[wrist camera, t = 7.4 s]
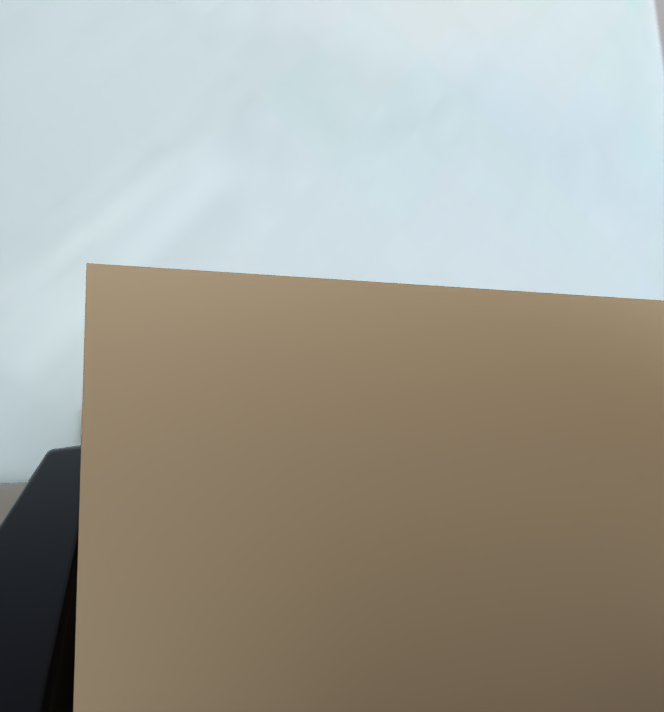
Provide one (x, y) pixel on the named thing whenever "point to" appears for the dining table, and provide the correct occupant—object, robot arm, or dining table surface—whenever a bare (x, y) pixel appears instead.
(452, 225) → the dining table surface
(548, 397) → the blade tool
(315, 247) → the dining table surface
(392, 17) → the dining table surface
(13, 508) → the robot arm
